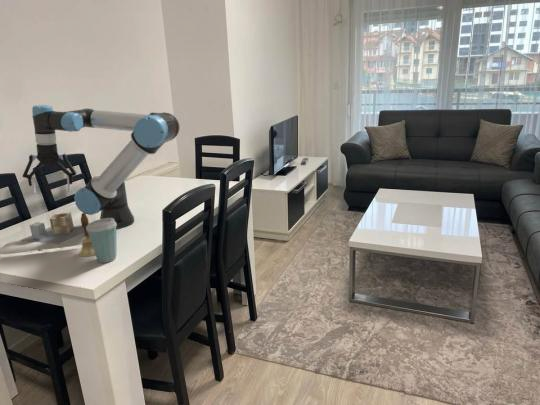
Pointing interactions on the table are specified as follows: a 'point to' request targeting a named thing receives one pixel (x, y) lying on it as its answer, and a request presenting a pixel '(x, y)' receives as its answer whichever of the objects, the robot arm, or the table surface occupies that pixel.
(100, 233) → the disposable coffee cup
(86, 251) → the hand bell
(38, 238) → the steel block
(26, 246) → the table surface
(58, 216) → the hollow wooden cube frame
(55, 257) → the table surface
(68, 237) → the base board
